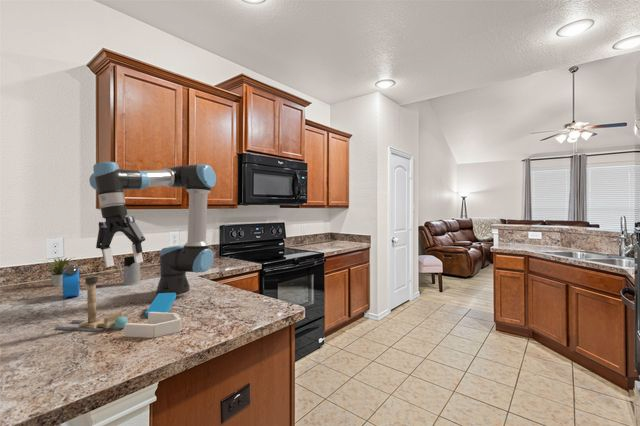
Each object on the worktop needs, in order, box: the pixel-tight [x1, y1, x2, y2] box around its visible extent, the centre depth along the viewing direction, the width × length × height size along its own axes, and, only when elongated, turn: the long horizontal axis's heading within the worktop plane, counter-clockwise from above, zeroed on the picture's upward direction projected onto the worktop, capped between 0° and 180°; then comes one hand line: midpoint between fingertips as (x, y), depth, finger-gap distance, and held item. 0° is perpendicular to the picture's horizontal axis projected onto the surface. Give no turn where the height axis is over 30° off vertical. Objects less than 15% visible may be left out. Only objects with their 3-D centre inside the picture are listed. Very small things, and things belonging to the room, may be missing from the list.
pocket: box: [124, 311, 183, 339], centre depth 105 cm, size 16×12×4 cm
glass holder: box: [118, 255, 142, 286], centre depth 175 cm, size 9×14×15 cm, turn 71°
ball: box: [114, 316, 129, 330], centre depth 107 cm, size 4×4×4 cm
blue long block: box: [144, 293, 177, 319], centre depth 127 cm, size 7×7×18 cm
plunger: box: [78, 276, 123, 329], centre depth 108 cm, size 12×6×17 cm, turn 83°
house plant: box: [44, 256, 76, 287], centre depth 171 cm, size 14×14×16 cm
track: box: [54, 319, 104, 333], centre depth 109 cm, size 18×7×1 cm, turn 83°
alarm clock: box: [62, 264, 81, 300], centre depth 148 cm, size 13×6×15 cm, turn 38°
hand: (124, 264), depth 109 cm, fingers open, 13 cm apart
